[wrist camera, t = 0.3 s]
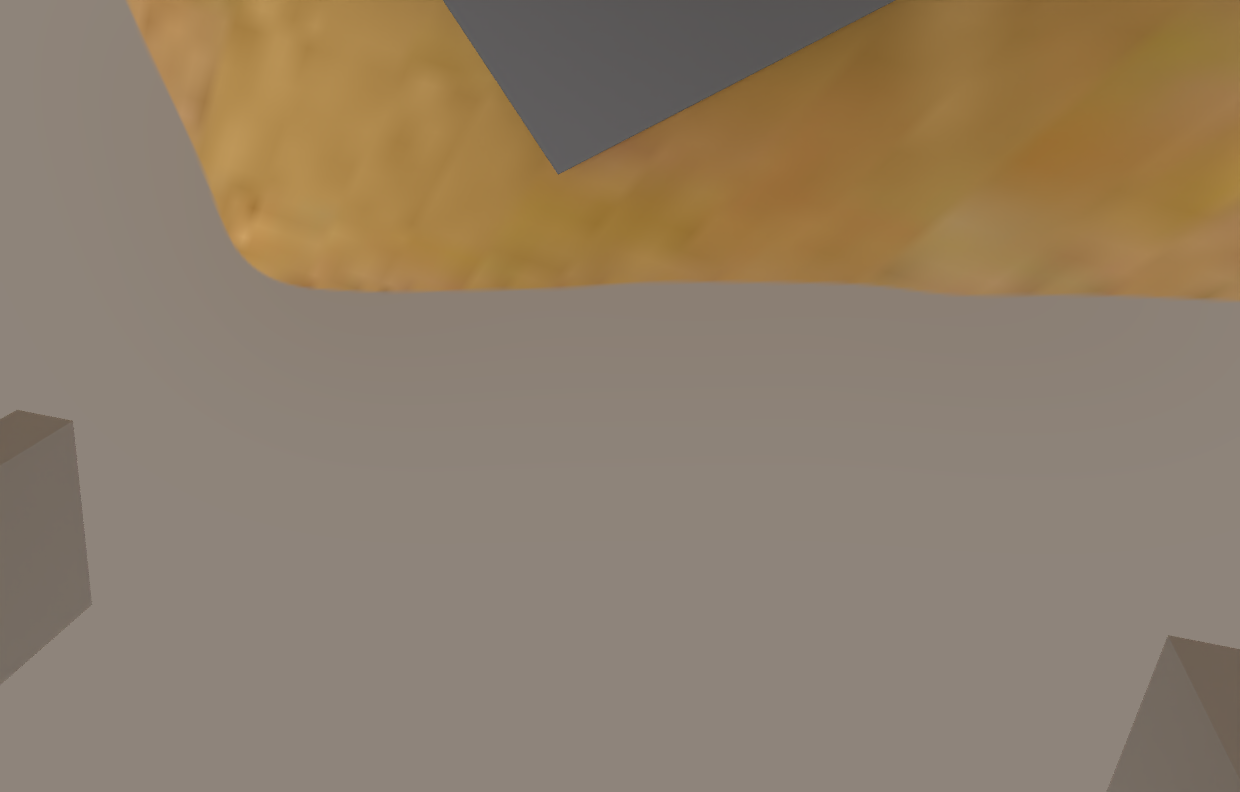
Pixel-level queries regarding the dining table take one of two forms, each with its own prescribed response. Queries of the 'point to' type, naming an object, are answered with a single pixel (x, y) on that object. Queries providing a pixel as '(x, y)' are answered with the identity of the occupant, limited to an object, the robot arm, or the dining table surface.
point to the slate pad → (632, 58)
